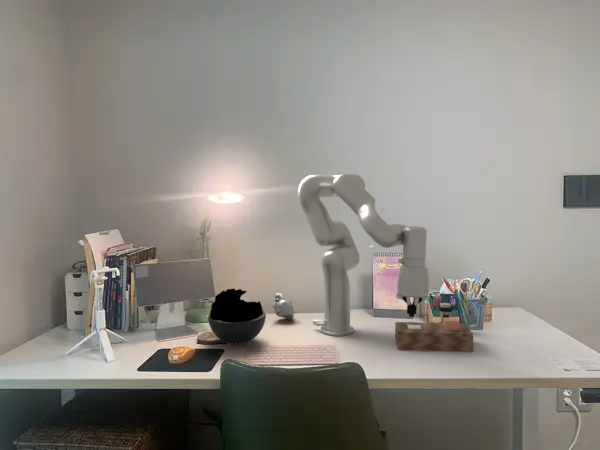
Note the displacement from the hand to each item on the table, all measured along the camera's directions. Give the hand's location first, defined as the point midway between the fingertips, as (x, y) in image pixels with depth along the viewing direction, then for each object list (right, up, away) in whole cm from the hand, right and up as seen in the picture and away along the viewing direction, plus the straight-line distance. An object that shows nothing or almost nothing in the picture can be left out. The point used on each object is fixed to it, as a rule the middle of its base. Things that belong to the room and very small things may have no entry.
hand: (411, 315), depth 160 cm
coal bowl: (-60, -11, +5) cm, 61 cm away
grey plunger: (+1, -10, 0) cm, 10 cm away
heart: (-44, -9, +32) cm, 55 cm away
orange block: (+13, -7, -2) cm, 15 cm away
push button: (+17, -9, +16) cm, 25 cm away
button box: (+7, -10, -1) cm, 12 cm away
